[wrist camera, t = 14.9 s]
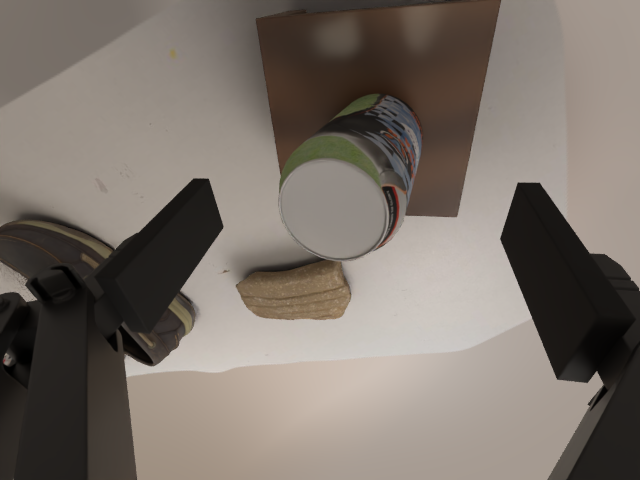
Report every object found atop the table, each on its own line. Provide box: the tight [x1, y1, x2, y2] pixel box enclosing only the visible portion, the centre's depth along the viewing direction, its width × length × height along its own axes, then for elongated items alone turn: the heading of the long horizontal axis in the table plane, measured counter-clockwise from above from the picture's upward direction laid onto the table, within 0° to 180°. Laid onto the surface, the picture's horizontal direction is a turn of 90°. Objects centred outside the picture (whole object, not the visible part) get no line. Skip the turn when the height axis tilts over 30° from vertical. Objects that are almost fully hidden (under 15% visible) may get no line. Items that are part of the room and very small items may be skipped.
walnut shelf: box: [256, 0, 501, 217], centre depth 26 cm, size 14×14×8 cm
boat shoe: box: [0, 220, 195, 366], centre depth 47 cm, size 11×29×11 cm, turn 58°
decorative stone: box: [236, 260, 351, 320], centre depth 45 cm, size 10×16×4 cm, turn 110°
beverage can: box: [279, 94, 423, 261], centre depth 19 cm, size 6×7×12 cm
